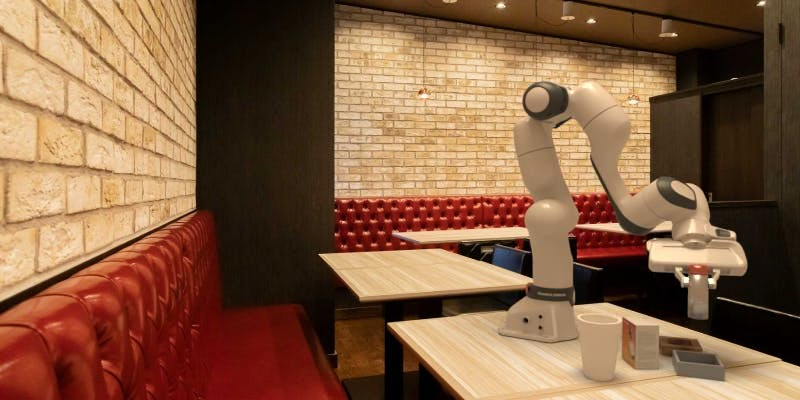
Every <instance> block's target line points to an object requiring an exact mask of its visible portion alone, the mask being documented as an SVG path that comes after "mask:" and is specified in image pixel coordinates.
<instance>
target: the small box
mask: <svg viewBox="0 0 800 400" xmlns="http://www.w3.org/2000/svg"><path fill="white" fill-rule="evenodd" d="M621 321H622V332H621V339H622V340H621V358H622V359H623V360H624V361H626V362H627V363H628V364H629V365H630V366H631V367H632V368H633V369H635V370H658V369H659V362H660V361H659V357H660V356H659V353H660V347H659V336H660V325H659V324H656V323H655V322H653V321H652V320H650V319H648V318H647V317H646V316H628V315H627V316H626V315H625V316H622V317H621Z"/></svg>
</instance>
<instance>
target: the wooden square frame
mask: <svg viewBox="0 0 800 400" xmlns="http://www.w3.org/2000/svg"><path fill="white" fill-rule="evenodd" d="M673 350H681V351H691V352H700V353H704V350H703V347H702V345H701V344H700V342H699V340H698V339H697V338H689V337H678V336H669V335H668V336H667V335H659V352H660V354H661V356H667V357H673Z"/></svg>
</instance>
